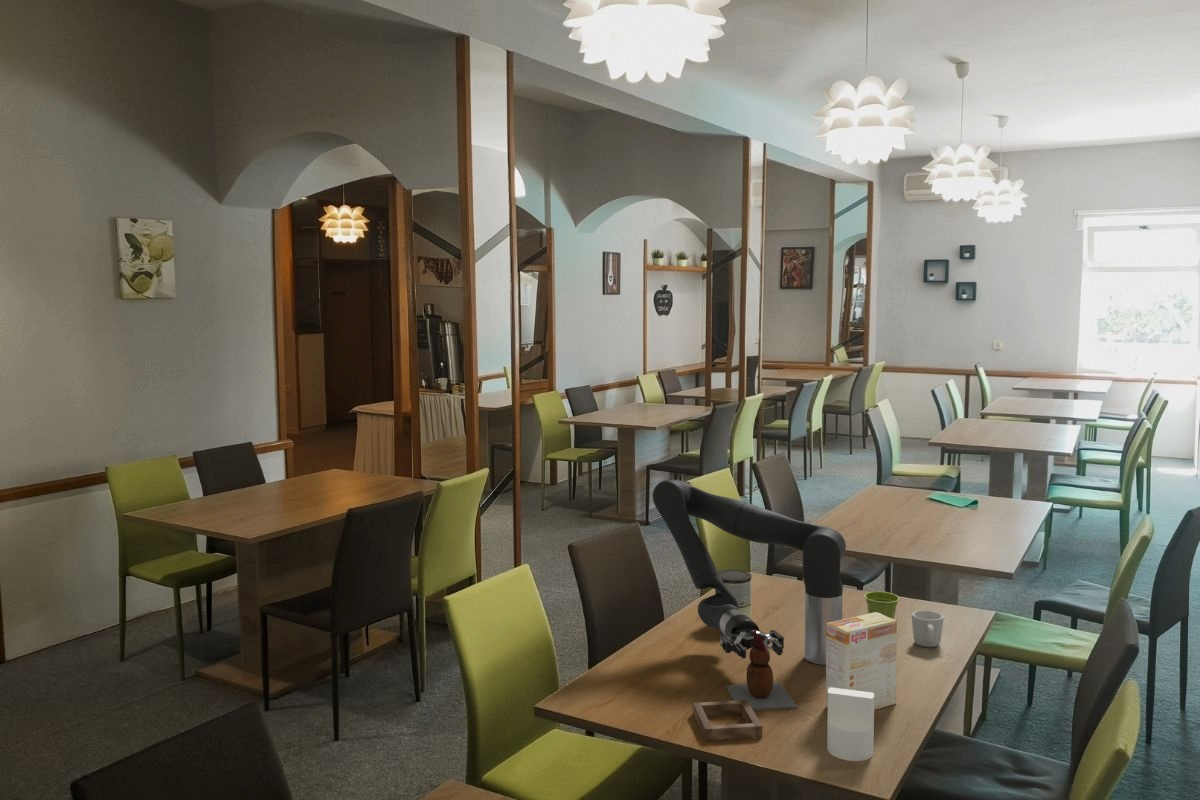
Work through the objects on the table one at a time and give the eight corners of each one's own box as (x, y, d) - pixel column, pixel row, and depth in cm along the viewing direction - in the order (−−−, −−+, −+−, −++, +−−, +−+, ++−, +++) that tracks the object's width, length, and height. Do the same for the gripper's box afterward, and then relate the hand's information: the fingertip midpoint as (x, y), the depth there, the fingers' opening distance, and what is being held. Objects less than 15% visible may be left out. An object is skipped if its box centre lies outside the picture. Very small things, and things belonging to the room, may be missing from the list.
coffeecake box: (874, 693, 212) (875, 611, 210) (897, 704, 206) (898, 620, 204) (824, 706, 205) (824, 621, 204) (846, 718, 199) (847, 631, 197)
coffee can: (708, 624, 261) (708, 575, 259) (725, 614, 269) (725, 567, 268) (741, 631, 255) (741, 581, 253) (757, 620, 263) (757, 572, 262)
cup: (947, 654, 235) (947, 624, 234) (914, 652, 237) (915, 622, 236) (940, 639, 246) (940, 610, 245) (909, 638, 247) (909, 609, 247)
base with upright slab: (824, 756, 182) (824, 698, 181) (830, 737, 191) (830, 681, 190) (871, 764, 179) (872, 704, 178) (875, 743, 187) (875, 687, 186)
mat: (780, 684, 218) (780, 682, 218) (797, 708, 205) (797, 705, 205) (726, 687, 216) (726, 685, 216) (739, 711, 204) (739, 709, 203)
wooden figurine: (743, 689, 214) (743, 627, 212) (768, 688, 214) (768, 626, 213) (750, 701, 207) (750, 637, 206) (776, 700, 208) (776, 636, 206)
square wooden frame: (746, 710, 204) (746, 699, 203) (762, 737, 191) (762, 726, 191) (693, 713, 203) (693, 702, 202) (705, 740, 190) (705, 729, 189)
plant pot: (902, 624, 258) (903, 594, 257) (893, 634, 250) (894, 603, 249) (869, 619, 263) (869, 589, 262) (859, 628, 255) (860, 598, 254)
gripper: (710, 616, 223) (732, 639, 207) (766, 611, 225) (792, 634, 210) (711, 646, 224) (732, 671, 208) (766, 641, 226) (792, 666, 210)
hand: (762, 652), depth 209 cm, fingers open, 8 cm apart
